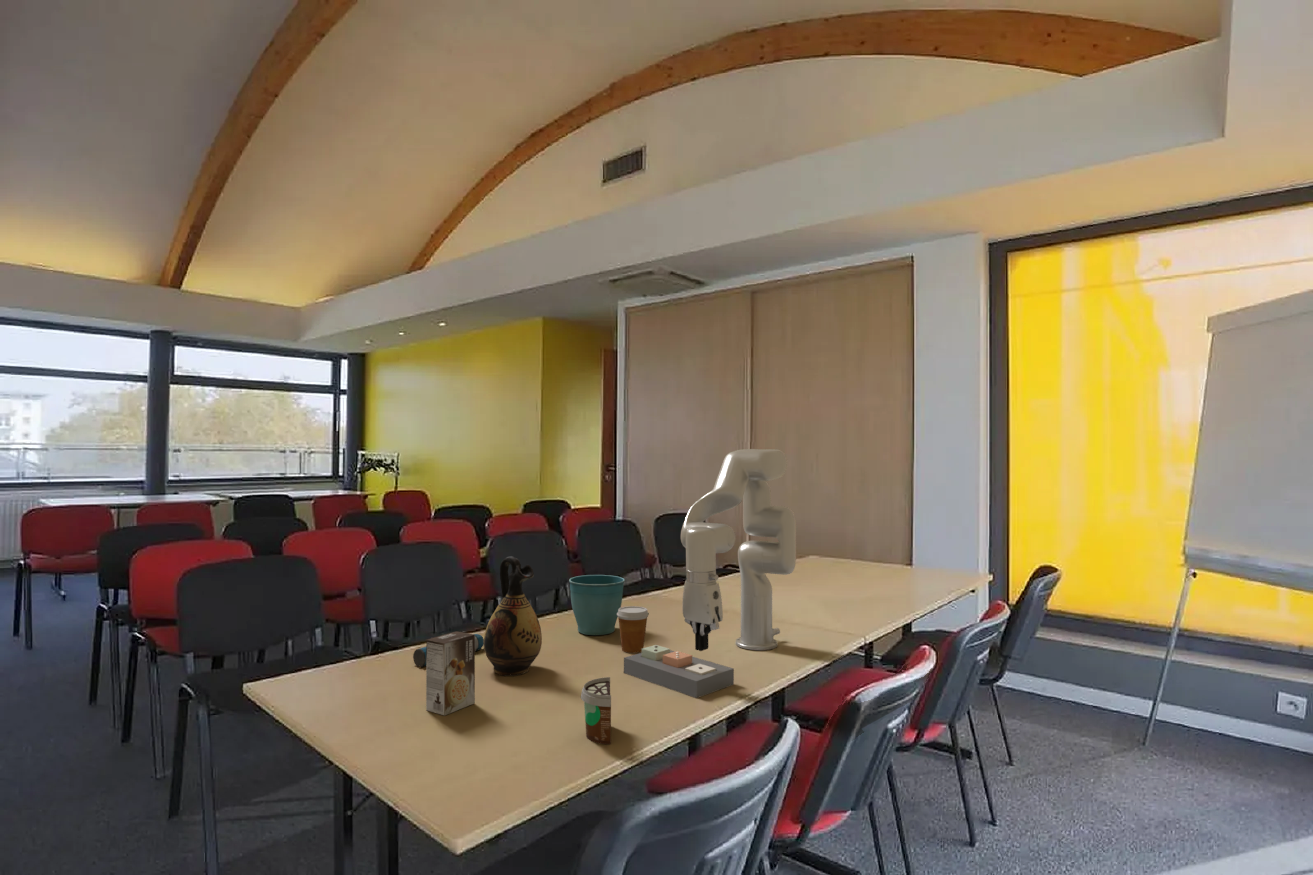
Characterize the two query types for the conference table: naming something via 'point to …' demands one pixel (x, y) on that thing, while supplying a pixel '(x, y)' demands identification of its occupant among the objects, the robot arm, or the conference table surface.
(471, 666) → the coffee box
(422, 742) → the conference table surface
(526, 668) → the ceramic jug
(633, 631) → the disposable coffee cup
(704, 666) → the button one dot
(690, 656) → the button three dots
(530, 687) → the conference table surface
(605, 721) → the food container
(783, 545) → the robot arm
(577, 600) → the flower pot
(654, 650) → the button two dots
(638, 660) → the console
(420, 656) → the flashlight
